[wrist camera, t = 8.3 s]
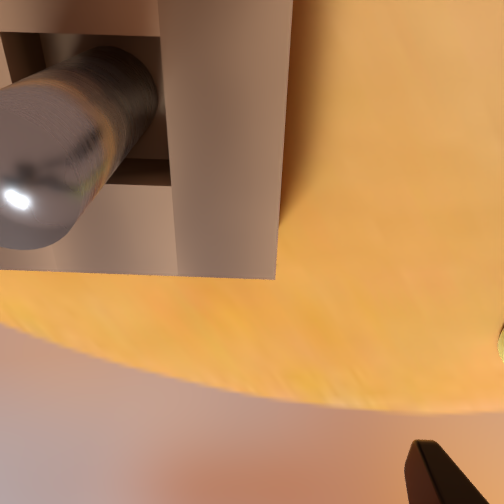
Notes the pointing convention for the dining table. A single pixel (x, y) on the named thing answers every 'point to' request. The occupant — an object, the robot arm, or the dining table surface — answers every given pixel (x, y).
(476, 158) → the dining table surface
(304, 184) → the dining table surface
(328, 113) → the dining table surface
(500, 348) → the tube
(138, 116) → the pin
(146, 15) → the bore block
